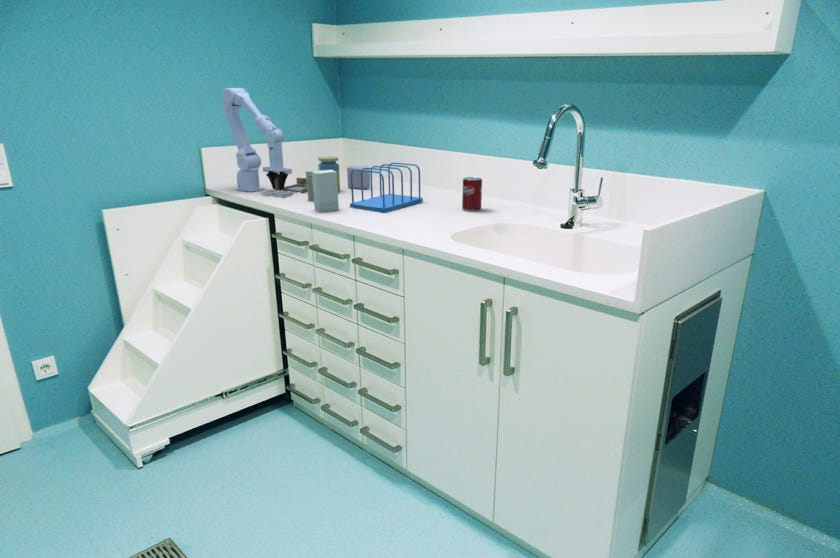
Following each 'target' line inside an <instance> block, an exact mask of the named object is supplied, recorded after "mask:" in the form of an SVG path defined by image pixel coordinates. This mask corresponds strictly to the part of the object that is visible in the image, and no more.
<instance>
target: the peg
mask: <svg viewBox="0 0 840 558" xmlns="http://www.w3.org/2000/svg"><path fill="white" fill-rule="evenodd" d="M274 184H275V189H274V190H279V191H283V190H280V189H279V182H278V178H275V179H274Z"/></svg>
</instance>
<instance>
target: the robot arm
mask: <svg viewBox="0 0 840 558" xmlns="http://www.w3.org/2000/svg"><path fill="white" fill-rule="evenodd" d="M220 98H221V101H222V105H223V112H224V115H225V117H226V120H227V124H228V126H229V128H230V130H231V134H232V136H233V138H234V141H235V145H236V148H237V149H238V150H237V152H236V154H235V158H236V164H237V167H238V168H239V170H238V171H237V172H236V183H237V188H236V191H243V192H251V193H253V192H257V191H261V190H265V188H264V187H261V186H260V176H259V175H260V174H259V173H260V172H259V170H260V166H261V165H262V158H261V157H260V155H259V154H258V153H257V150H256V149H255V148H253V147H252V146H251V144H250V141H249V138H248V135H247V133H246V130H245V128H244V127H245V126H244V124H243V122H242V118H241V117H240V114H239V110H240V109H241V107H243V108H244V109H245V110H246V111H247V112H248V113H249V115H251V117H253V119H254V121H255V122H254V124H255V125H256V127H258V129H259V130H260V132H262V133H263V135H264V140H265V142H266V144H267V148H268V157H269V158H268V159H269V161H268V162H269V166H263V167H262V172H263V173H266V175H265V176H266V177H267V178H268V180H269V182H270V184H271V187H272V190H275V184H274V179H275V178H278V182H279V189H280V190H282V191H283V189H284V187H285V185H286V181H287V178H288V176H289V175H291V174H292V173H293V172H292V168H287V167H284V156H283V153H284V152H283V143H282V142H283V141H284V139H285V134H284V132H283V130H282V129H280V128H277V126H276V125H275V124H274V123H272V121H271V120H270V117H269V116H267V115H265V114H262V113H261V112H260V110H259V109H258V107H257V106H256V104H254V102H253V100H252V99H251V97H250V94H249V92H247V90H246V89H245V88H244V87H226V88H224V89H223V90H222V93H221V95H220Z"/></svg>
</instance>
